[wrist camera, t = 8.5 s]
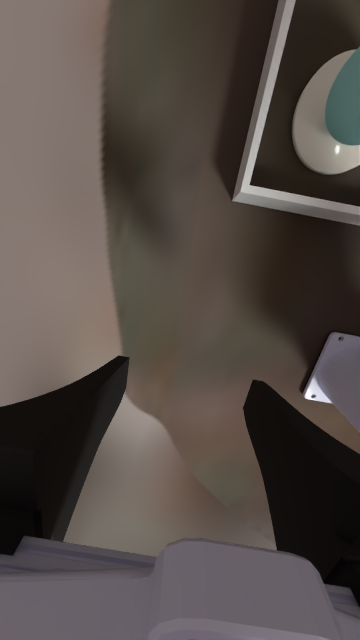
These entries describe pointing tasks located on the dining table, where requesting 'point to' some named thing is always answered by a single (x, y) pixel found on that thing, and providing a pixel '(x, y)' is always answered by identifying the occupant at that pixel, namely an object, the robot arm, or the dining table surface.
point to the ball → (345, 103)
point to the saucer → (321, 125)
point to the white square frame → (261, 106)
